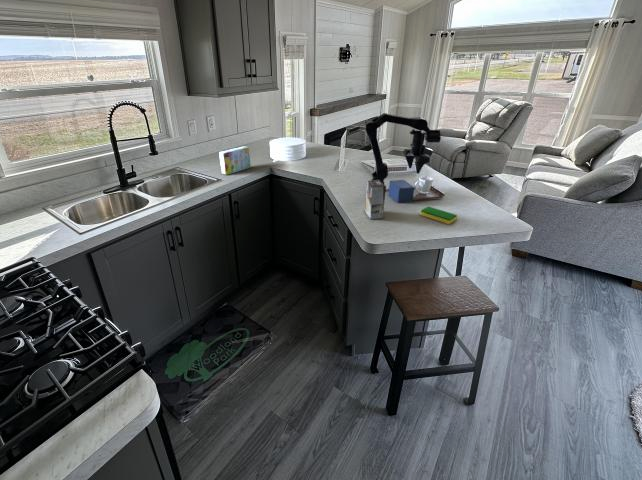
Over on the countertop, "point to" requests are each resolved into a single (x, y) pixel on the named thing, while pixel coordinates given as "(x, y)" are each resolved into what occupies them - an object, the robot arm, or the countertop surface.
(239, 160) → the snack box
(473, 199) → the countertop surface
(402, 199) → the navy box
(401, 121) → the robot arm
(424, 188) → the cup
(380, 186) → the coffee box
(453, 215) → the dish sponge
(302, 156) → the plate stack
